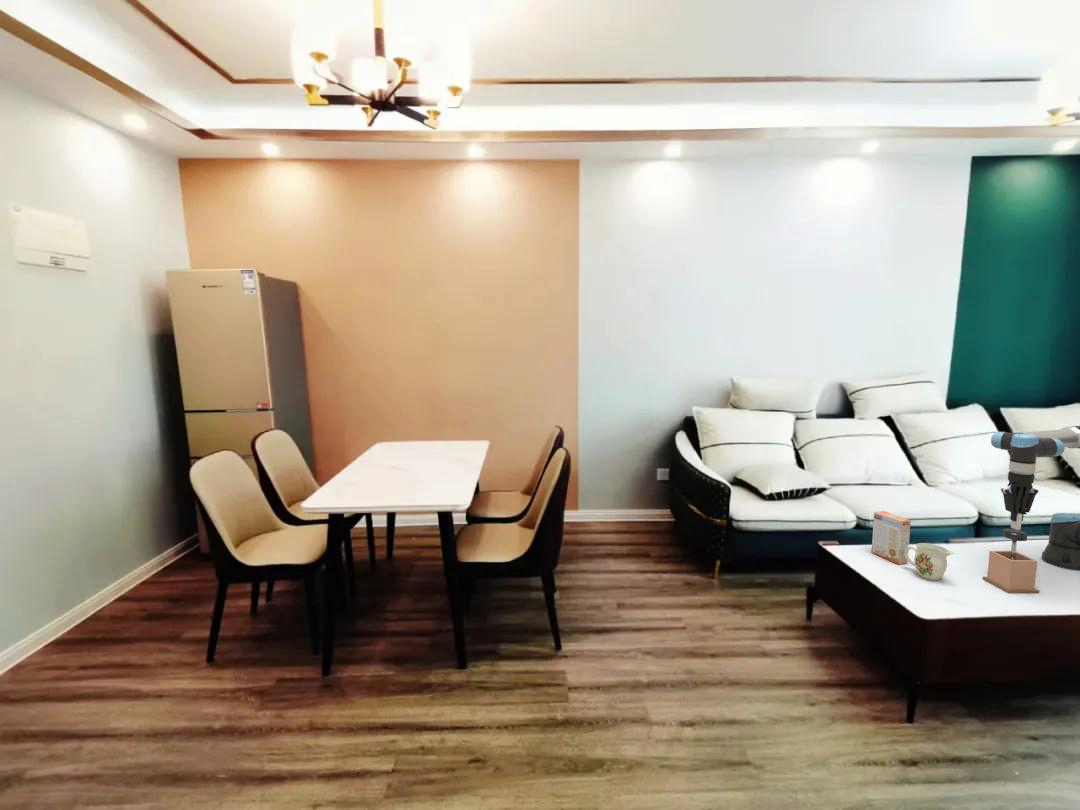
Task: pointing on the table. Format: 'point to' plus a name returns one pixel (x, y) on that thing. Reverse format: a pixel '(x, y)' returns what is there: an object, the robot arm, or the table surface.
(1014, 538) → the plunger
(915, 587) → the table surface
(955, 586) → the table surface
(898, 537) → the cracker box
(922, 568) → the pitcher
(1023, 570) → the open square box
